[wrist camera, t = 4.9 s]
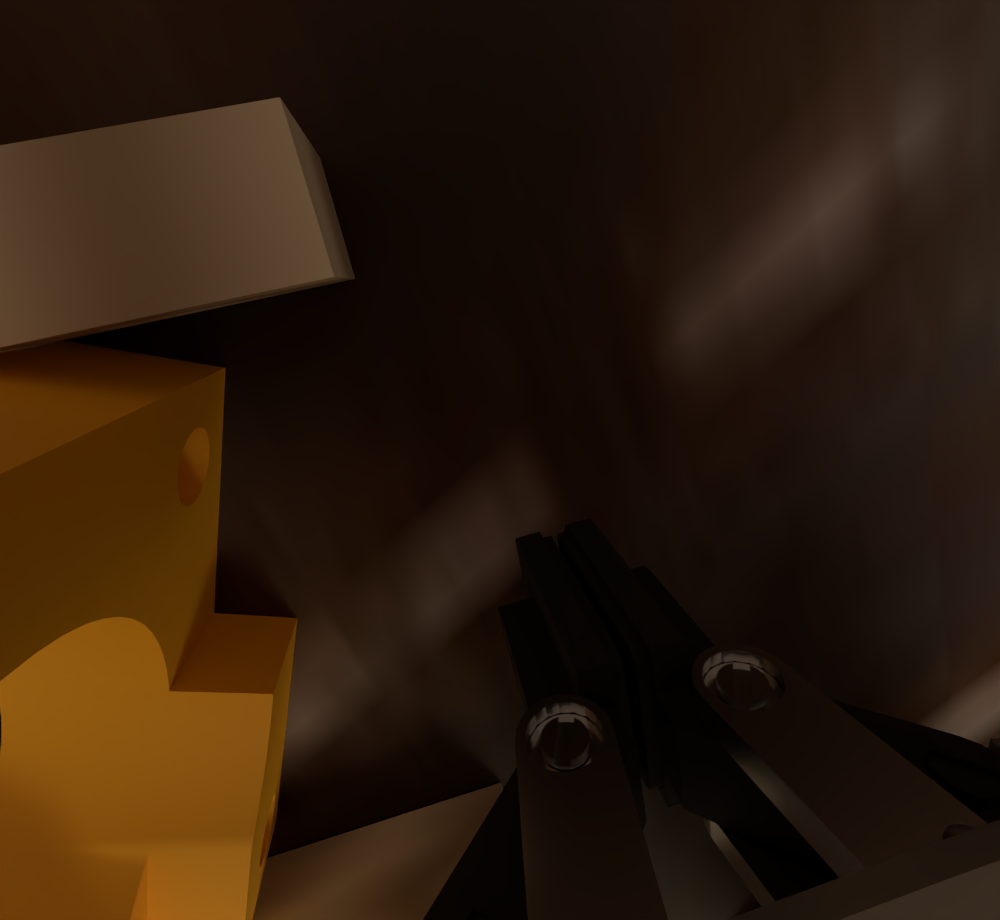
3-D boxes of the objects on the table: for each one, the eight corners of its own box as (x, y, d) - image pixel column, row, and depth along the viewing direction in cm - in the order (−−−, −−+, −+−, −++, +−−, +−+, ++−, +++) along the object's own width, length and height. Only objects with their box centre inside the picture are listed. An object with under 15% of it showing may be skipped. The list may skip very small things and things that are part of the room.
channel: (319, 154, 9) (275, 89, 6) (513, 828, 15) (540, 955, 12) (-916, 383, 7) (-1878, 456, 4) (-90, 1029, 13) (-224, 1232, 11)
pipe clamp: (277, 813, 13) (176, 1239, 7) (93, 819, 12) (-195, 1315, 6) (323, 383, 10) (201, 532, 4) (71, 340, 9) (-606, 456, 3)
